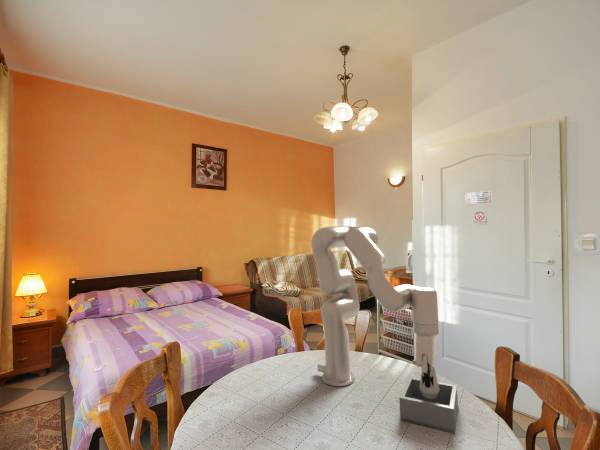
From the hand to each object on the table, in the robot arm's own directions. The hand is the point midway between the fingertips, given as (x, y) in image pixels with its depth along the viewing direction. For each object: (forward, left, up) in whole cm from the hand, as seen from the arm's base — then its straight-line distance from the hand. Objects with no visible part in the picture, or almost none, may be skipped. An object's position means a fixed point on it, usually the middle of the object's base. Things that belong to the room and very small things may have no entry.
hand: (429, 385), depth 102 cm
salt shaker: (0, 0, -3) cm, 3 cm away
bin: (0, 0, -9) cm, 9 cm away
